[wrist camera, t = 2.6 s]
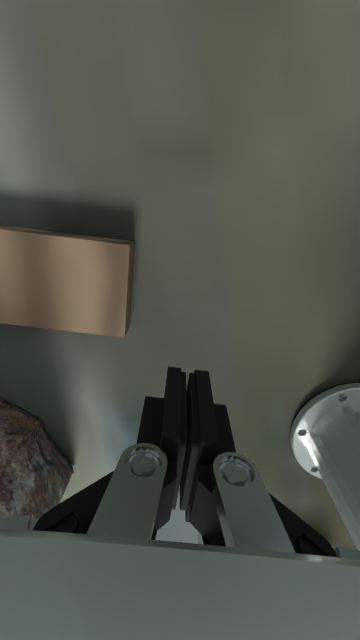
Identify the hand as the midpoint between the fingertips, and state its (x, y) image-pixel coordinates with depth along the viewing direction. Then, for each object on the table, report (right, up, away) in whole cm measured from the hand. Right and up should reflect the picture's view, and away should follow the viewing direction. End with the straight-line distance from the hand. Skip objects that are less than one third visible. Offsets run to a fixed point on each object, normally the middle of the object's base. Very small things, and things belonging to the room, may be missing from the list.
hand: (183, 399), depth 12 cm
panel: (-11, +7, +15) cm, 20 cm away
